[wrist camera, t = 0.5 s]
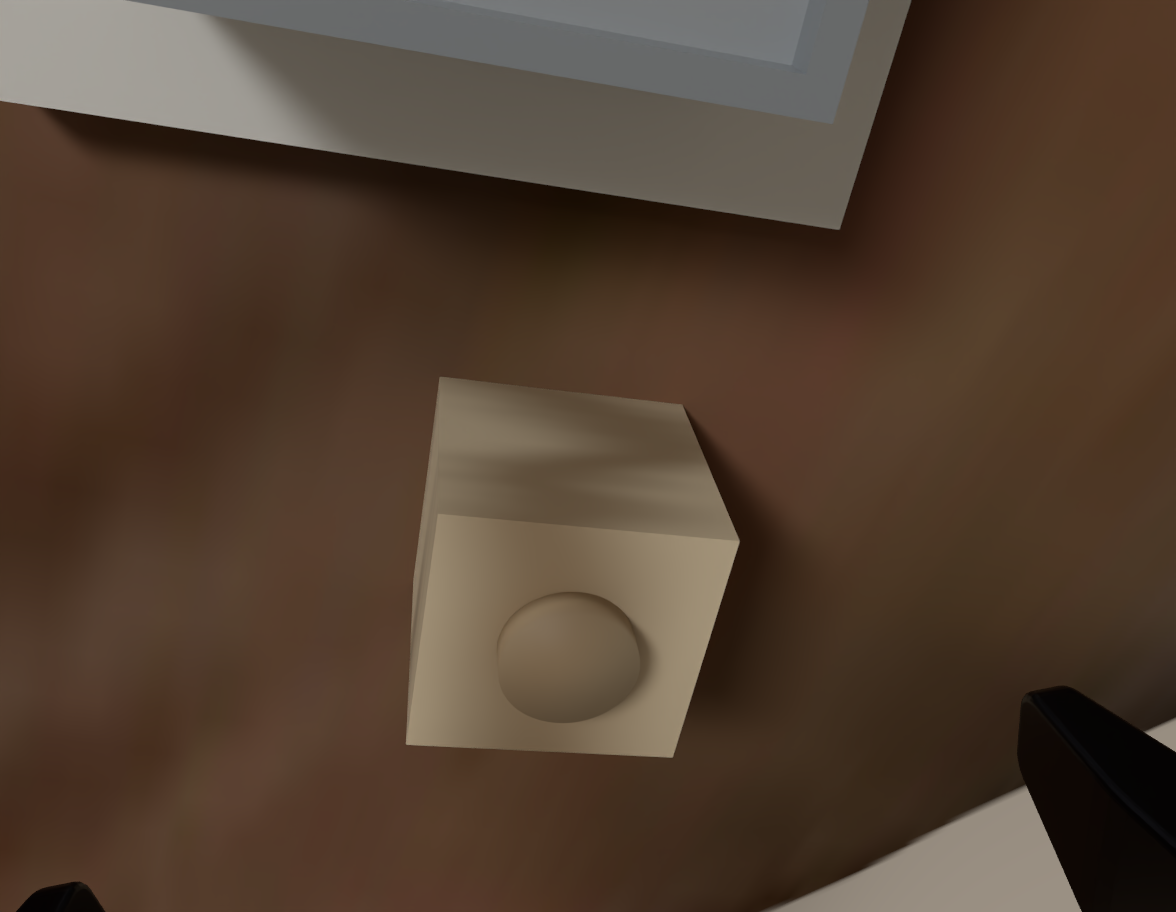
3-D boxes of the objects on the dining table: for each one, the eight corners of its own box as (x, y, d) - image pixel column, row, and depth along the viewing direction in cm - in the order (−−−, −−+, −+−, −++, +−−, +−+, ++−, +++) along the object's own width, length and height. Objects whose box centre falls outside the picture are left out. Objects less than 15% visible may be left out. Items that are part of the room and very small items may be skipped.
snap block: (681, 402, 22) (749, 562, 17) (632, 594, 24) (678, 781, 19) (439, 374, 21) (437, 535, 16) (414, 577, 23) (404, 770, 18)
